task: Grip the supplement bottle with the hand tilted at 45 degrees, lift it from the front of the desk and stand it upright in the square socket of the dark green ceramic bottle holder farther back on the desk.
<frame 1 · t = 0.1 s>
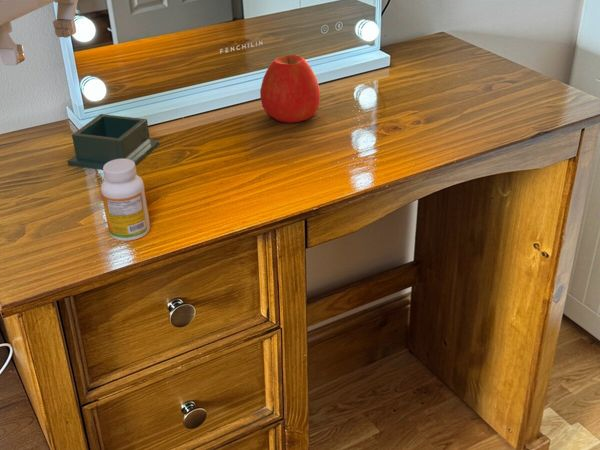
hand: (41, 48, 82), 27 cm above the table, tool pointing down, fingers open, 8 cm apart
bottle holder: (114, 154, 121), on the table
supplement bottle: (130, 232, 101), on the table
apple: (291, 116, 132), on the table
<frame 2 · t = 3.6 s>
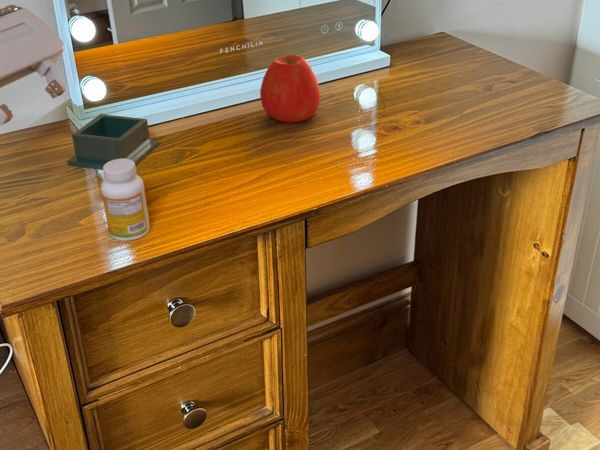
hand: (35, 106, 98), 16 cm above the table, tool tilted 45°, fingers open, 8 cm apart
nothing on the table moved.
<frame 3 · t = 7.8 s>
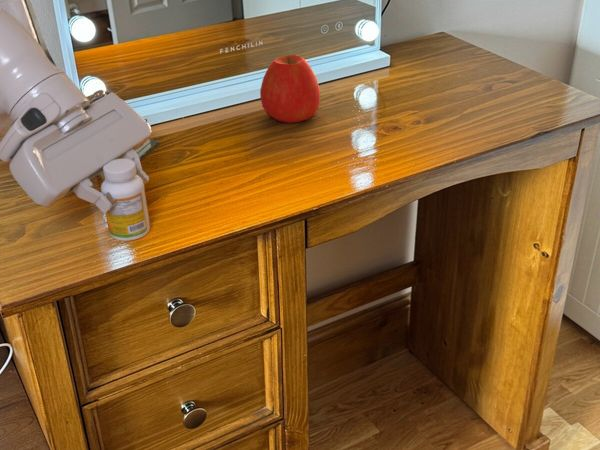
hand: (127, 196, 98), 5 cm above the table, tool tilted 45°, fingers closed on supplement bottle, 5 cm apart
supplement bottle: (130, 232, 101), on the table, touching gripper
everything else where it was.
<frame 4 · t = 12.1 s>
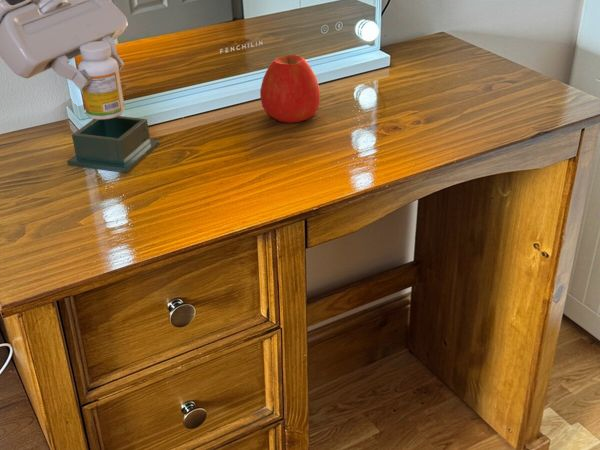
hand: (103, 77, 105), 16 cm above the table, tool tilted 45°, fingers closed on supplement bottle, 5 cm apart
supplement bottle: (106, 114, 108), point 10 cm above the table, touching gripper
everything else where it was.
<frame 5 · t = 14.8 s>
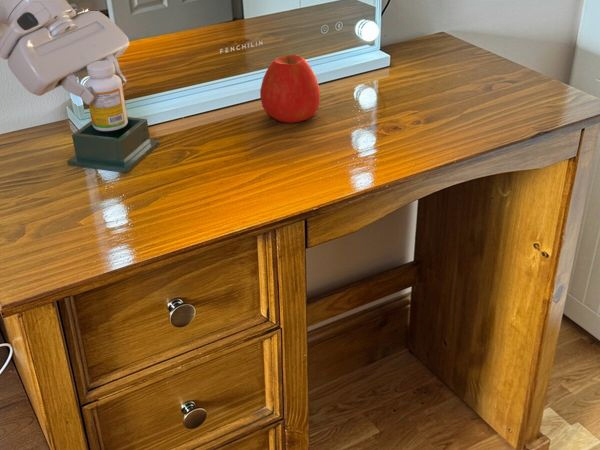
hand: (108, 92, 115), 10 cm above the table, tool tilted 45°, fingers closed on supplement bottle, 5 cm apart
supplement bottle: (110, 126, 119), point 5 cm above the table, touching gripper
everything else where it was.
when the fingers open (6 cm above the table, at t = 16.6 s): supplement bottle stays where it is, resting on bottle holder.
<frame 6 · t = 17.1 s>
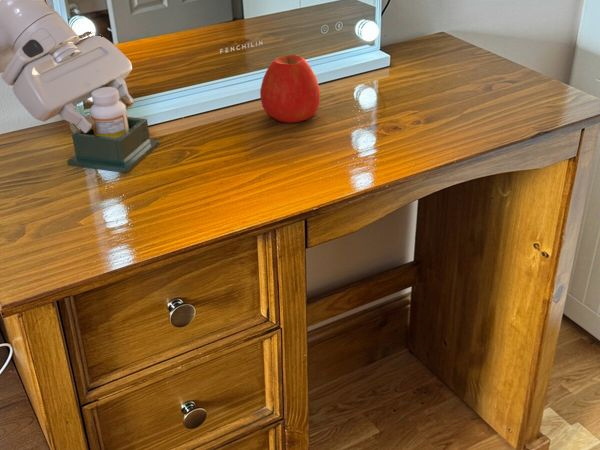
hand: (111, 117, 117), 6 cm above the table, tool tilted 45°, fingers open, 8 cm apart
supplement bottle: (114, 150, 121), point 1 cm above the table, touching bottle holder
everything else where it was.
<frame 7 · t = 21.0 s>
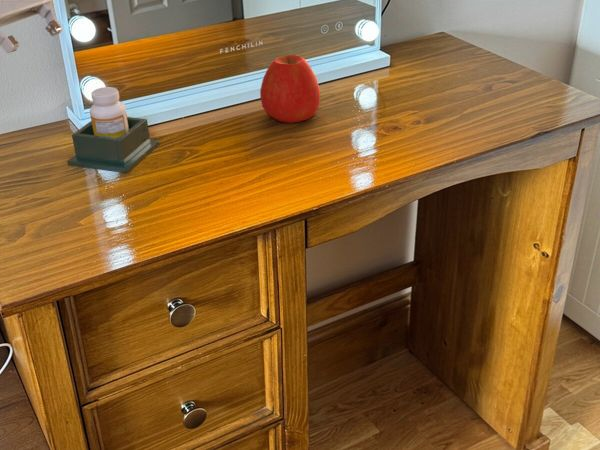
hand: (36, 40, 116), 17 cm above the table, tool tilted 45°, fingers open, 8 cm apart
nothing on the table moved.
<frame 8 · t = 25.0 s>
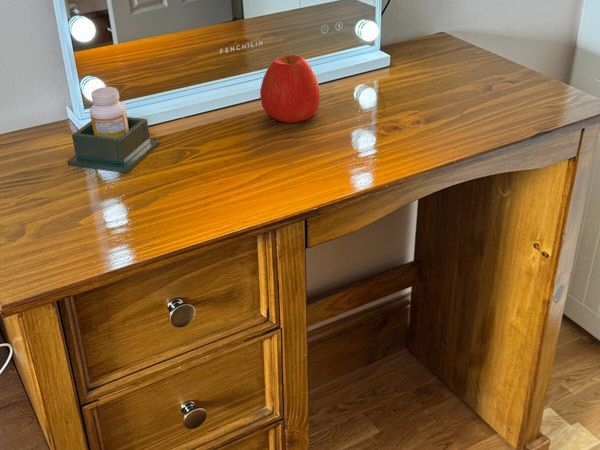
nothing on the table moved.
at the end: supplement bottle 0.1 cm off-centre on the bottle holder, point 0.6 cm above the bottle holder's base; supplement bottle tilted 0°; the gripper is holding nothing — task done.
